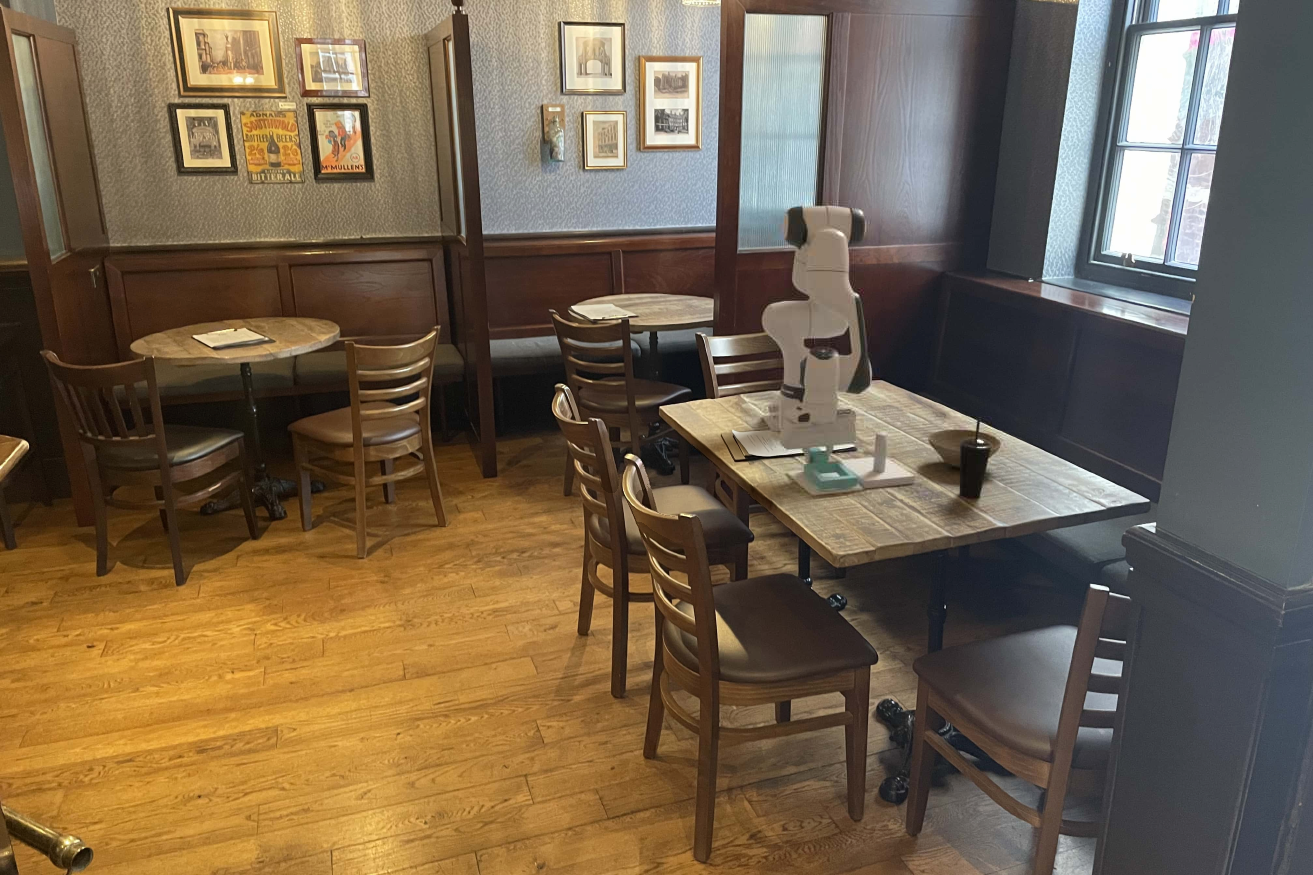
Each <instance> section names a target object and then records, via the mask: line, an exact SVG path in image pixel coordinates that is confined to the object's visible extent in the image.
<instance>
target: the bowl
mask: <svg viewBox="0 0 1313 875" xmlns="http://www.w3.org/2000/svg"><path fill="white" fill-rule="evenodd" d="M975 435H976V430H969V429H962V428H961V429H945V430H940V431H935V432H932V433H931V434H930V435H929V436H928V438H927V440H928V443H929V444H930V446H931V448H932V449H933V450H934V451H935V452H936V454H938V455H939V456H940V457H941V459H942V460H943V461H944V462H945V463H946V464H947V465H950V466H952V467H955V468H957V469H958V468H959V469H960V444H959V442H960V440H962V439H966V438H970V437H975ZM978 438H982V439H985V440H987V441H989V442H991V443H992V448H991V450H990V454H989V458H988V459H990V458H991V457H992V456H994V455H995V454H996V453H997V452H998V451H999V449H1000V448H1001V446H1002V443H1001V441H1000V439H997V437H996V436H994V435H990V434H989V433H986V432H982V431H979V434H978Z"/></svg>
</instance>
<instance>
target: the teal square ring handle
mask: <svg viewBox="0 0 1313 875" xmlns="http://www.w3.org/2000/svg"><path fill="white" fill-rule="evenodd" d="M820 448H821V447H813V448H810V451H809V452H808V453H809V455H811V456H812V457H813V463H809V464H807V463H804V465H803V470H804V474H805V475H806V476H807V477H808V478H809V479H810V480H811V481H812V482H813V483H814V484H815V485H816V486H817V487H818V489H819V490H826V489H836V488H846V487H855V486H857V479H858V477H857V476H856V475H855V474H854V473H852V472H851V471H850V470H849V469H848V468H847V467H846V466H845V465H844V464H843V463H842V462H841V461H838V460H834V461H828V456H827V455H826V454H825V453H824V452H825V451H823V450H821V449H820ZM825 473H837V474H838V475H839V476H838V477H828V478H824V477H823V476H822V475H821V474H825Z"/></svg>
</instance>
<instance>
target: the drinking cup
mask: <svg viewBox="0 0 1313 875" xmlns="http://www.w3.org/2000/svg"><path fill="white" fill-rule="evenodd" d="M980 424H981V417H977V419H976V427H975V431H976V435H975V437H970V438H966V439H962V440H960V442H959V444H960V468H959V495H960V496H961V497H962V498H964V499H965V498H966V499H972V500H973V499H975V500H976V499H979V498H981V494H982V493H981V492H982V488H983V484H984V481H985V477H986V475H985V474H986V471H987V467H988V463H989V459H990V458H989V454H990V450H991V448H992V443H991V442H989V441H987V440H985V439H982V438H978V434H979V432H980Z"/></svg>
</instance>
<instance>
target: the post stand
mask: <svg viewBox="0 0 1313 875" xmlns="http://www.w3.org/2000/svg"><path fill="white" fill-rule="evenodd" d="M888 438H889V434H888V433H887V432H883V431H881V432H880V431H878V432H876V433H875V439H874V441H875V443H874V454H873V456H872V457H862V458H850V459H840V460H837V461H841V462H842V463H843V464H844V465H845V466H846V467H847V468H848V469H849V470H850V471H851V472H852V473H854V474H855V475H856V476H857V477H858V479H857V483H858V484H859V485H860V486H862V487H863V489H871V488H882V487H890V486H891V487H892V486H893V487H894V486H899V485H900V486H901V485H910V484H911V485H912V484H915V479H916V476H915V475H914V474H913V473H911V472H909V471H908V470H907V469H905V468H903V467H901V466H900V465H899V464H897V463H895V462H894V461H892V460H890V459H889V458H888V457H887V453H888V452H887V451H888V450H887V449H888V440H889V439H888Z"/></svg>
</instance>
